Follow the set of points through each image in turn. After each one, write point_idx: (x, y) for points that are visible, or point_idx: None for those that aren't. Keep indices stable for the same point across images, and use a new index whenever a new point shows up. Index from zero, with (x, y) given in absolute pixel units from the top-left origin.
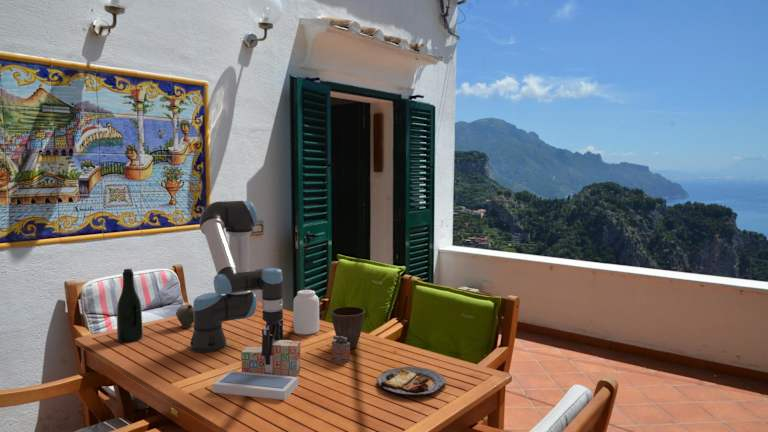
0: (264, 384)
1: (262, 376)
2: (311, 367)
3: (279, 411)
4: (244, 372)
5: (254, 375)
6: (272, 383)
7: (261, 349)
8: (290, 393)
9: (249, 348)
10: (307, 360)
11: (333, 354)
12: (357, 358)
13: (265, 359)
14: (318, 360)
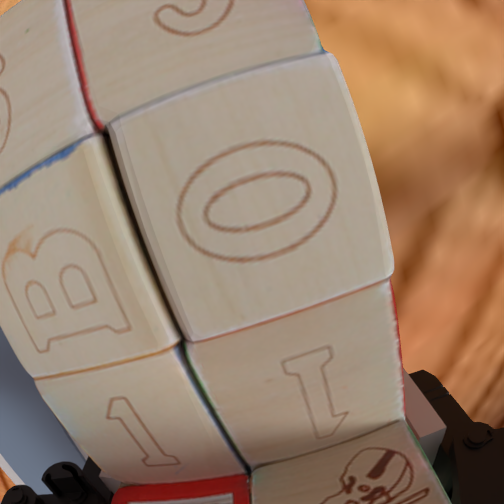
0: (2, 444)
1: (40, 406)
2: None
3: (6, 481)
4: None
5: (12, 349)
6: (34, 473)
7: (230, 371)
8: None
9: (146, 16)
10: (496, 379)
11: None
12: None
13: (88, 461)
14: (491, 417)
